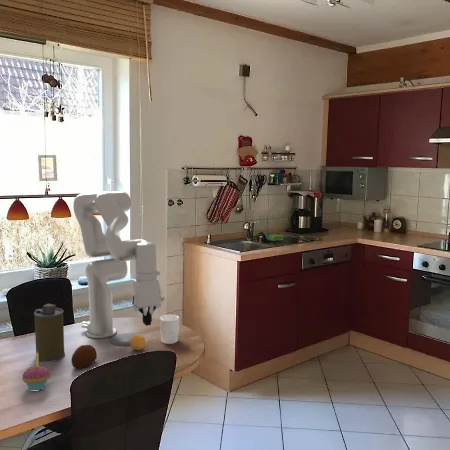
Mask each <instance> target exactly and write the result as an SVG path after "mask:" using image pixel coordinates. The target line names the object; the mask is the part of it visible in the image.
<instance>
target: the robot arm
mask: <svg viewBox="0 0 450 450" xmlns="http://www.w3.org/2000/svg"><path fill="white" fill-rule="evenodd" d="M131 207H132V199H131V197H130V195H129V194H128V193H127V192H126V191H122V190H120V191H117V190H116V191H99V192H96V191H95V192H84V193H80V194H77V196H75V197H74V200H73V212H74V215H75V218H76V220H77V222H78V224H79V228H80V233H81V237H82V238H81V239H82V242H83V247H84V251H85V254H86V256H87V257H88V258H94V259H95V258H102V257H108V256H109V258H105V259H99V260H94V261H91V262H89V263H88V264H87V265H86V267H85V275H86V282H87V286H88V287H87V288H88V309H89V313H88V314H89V316H88V318H89V322H88V321H82V322H81V324H82V325H81V328H83V329H86V331H85V335H86V336H87V337H88V338H91V339H106V338H112V337H113V336H115V335H117V329H116V327H114V324H113V323H114V320H113V315H114V313H113V293H112V292H113V291H112V290H111V288H110V287H109V286H108V284H107V283H109V282H115V281H119V280H120V281H121V280H124V279H125V278H126V277H127V275H128V264H127V261H128V262H129V261H135V279H133V282H132V289H131V290H132V291H131V305H132V311H133V312H139V313H140V314H141V315H142V323H143V324H144V325H145V326H146V327H148V326H151V325H152V321H153V319H152V318H153V317H152V316H153V313H154V312H155V310H157V309H159V308H161V306H162V304H161V303H162V293H161V286H160V280H159V278H158V276H161V272H160V271H158V270H157V245H156V244H155V242H152V241H147V240H145V239H143V238H142V239H141V238H137V239H127V240H122V238H121V237H120V236H119V234H118V233H119V232H120V231H122V230H123V229H124V228H126V226H127V225H128V223H129V218H128V215H127V214H126V212H128V211H129V210H130V209H131ZM95 213H99V215H100V216H101V218H102V220H103V222H104V223H105V225H106V226H107V228H106V230H105V233H104V232H103V227H102V224H101V221H100V220H99V218H97V217H96V216H95V215H94V214H95Z"/></svg>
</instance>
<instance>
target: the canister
mask: <svg viewBox="0 0 450 450" xmlns="http://www.w3.org/2000/svg"><path fill="white" fill-rule="evenodd" d="M64 313H65V312H64V310H63V308H61V307H60V308H59V307H57V304H51V303H46V304H44V305H42V308H37V309H35V310H34V312H33V315H34V335H35V338H34V339H35V355H36V354H37V351H38V353H39V360H40V361H39V362H42V361H52V362H54V361H53V360H56V361H59V360H62V359H63V358H64V357H65V356H66V352H65V333H64ZM62 357H63V358H62ZM58 359H59V360H58Z"/></svg>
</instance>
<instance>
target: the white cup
mask: <svg viewBox="0 0 450 450" xmlns="http://www.w3.org/2000/svg"><path fill="white" fill-rule="evenodd" d="M159 328H160V329H159V331H160V340H161V343H163V344H166V345H170V344H172V345H173V344H175V343H177V342H178V340H179V339H178V337H179V331H180V330H179V329H180V316H178V315H176V314H162V315H160V316H159Z"/></svg>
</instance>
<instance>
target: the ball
mask: <svg viewBox="0 0 450 450" xmlns="http://www.w3.org/2000/svg"><path fill="white" fill-rule="evenodd" d="M136 334H137V335H134V336H133V337H132V338H131V340H130V346H129V347H131V348H132V349H133V350H134V351H141V350H143V349H144V347H145V346H146V339H145V336H144V335H142V334H140V333H136ZM139 334H140V335H139Z"/></svg>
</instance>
